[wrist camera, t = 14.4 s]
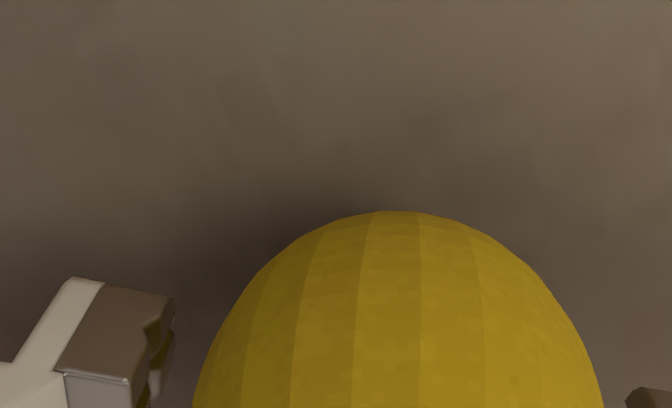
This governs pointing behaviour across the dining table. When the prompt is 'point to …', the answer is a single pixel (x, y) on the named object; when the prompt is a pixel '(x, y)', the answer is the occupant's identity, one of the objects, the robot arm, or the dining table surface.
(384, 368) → the lemon
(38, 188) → the dining table surface
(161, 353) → the robot arm
